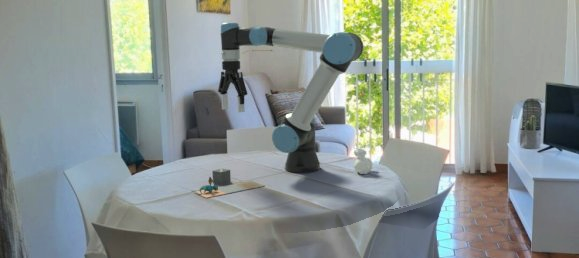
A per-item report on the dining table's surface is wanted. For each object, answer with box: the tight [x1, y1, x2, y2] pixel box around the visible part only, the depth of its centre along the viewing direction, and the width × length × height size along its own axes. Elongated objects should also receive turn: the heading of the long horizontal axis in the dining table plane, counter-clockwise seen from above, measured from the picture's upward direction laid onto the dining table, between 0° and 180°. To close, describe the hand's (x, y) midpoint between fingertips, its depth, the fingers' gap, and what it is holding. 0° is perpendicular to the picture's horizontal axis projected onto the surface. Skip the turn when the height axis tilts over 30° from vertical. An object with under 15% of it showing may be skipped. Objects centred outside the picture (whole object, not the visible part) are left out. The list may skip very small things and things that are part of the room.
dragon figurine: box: [191, 176, 219, 196], centre depth 211 cm, size 6×7×8 cm
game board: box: [193, 180, 266, 199], centre depth 216 cm, size 26×10×1 cm, turn 126°
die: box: [212, 168, 232, 185], centre depth 227 cm, size 5×5×5 cm
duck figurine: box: [353, 147, 373, 175], centre depth 238 cm, size 12×8×11 cm
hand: (233, 110), depth 241 cm, fingers open, 13 cm apart
